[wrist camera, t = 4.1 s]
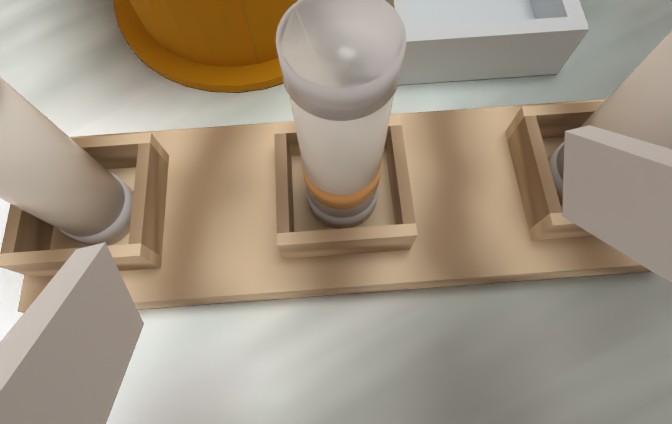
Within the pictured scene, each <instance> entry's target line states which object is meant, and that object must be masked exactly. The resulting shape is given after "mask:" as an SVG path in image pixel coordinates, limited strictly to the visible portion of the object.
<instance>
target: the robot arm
mask: <svg viewBox="0 0 672 424" xmlns="http://www.w3.org/2000/svg"><path fill="white" fill-rule="evenodd" d="M562 216H563V217H564V218H566V219H568V220H569V221H571V222H573V223H574V224H576V225H577V226H579V227H581V228H582V229H584V230H586V231H587V232H589V233H590V234H592V235H594V236H595V237H597V238H599V239H600V240H602V241H603V242H605V243H607V244H608V245H610V246H612V247H613V248H615V249H616V250H618V251H620V252H621V253H623V254H625V255H626V256H628V257H629V258H631V259H633V260H634V261H636V262H637V263H639V264H641V265H642V266H644V267H646V268H647V269H649V270H650V271H652V272H654V273H655V274H657V275H659V276H660V277H662V278H663V279H665V280H667V281H668V282H670V283H672V149H669V148H666V147H662V146H659V145H655V144H652V143H648V142H645V141H642V140H638V139H635V138H631V137H628V136H625V135H621V134H618V133H614V132H611V131H607V130H604V129H601V128H597V127H594V126H590V125H588V126H584V127H580V128H576V129H572V130H567V131H565V141H564V174H563V207H562ZM143 325H144V323H143V321H142V319H141V317H140V315H139V312H138V310H137V308H136V306H135V304H134V302H133V300H132V298H131V295H130V293H129V291H128V289H127V287H126V285H125V283H124V281H123V278H122V276H121V274H120V272H119V270H118V268H117V266H116V264H115V261H114V259H113V257H112V255H111V253H110V251H109V249H108V247H107V244H106V242H104V243H100V244H96V245H92V246H88V247H84V248H80V249H76V250H75V251H74V253H73V254H72V255H71V256H70V258H69V259H68V260H67V261H66V262H65V264H64V265H63V266H62V267H61V269H60V270H59V271H58V272H57V274H56V275H55V276H54V277H53V278H52V280H51V281H50V282H49V283H48V285H47V286H46V287H45V288H44V289H43V291H42V292H41V293H40V294H39V296H38V297H37V298H36V299H35V301H34V302H33V303H32V304H31V305H30V307H29V308H28V309H27V310H26V312H25V313H24V314H23V315H22V316H21V318H20V319H19V320H18V321H17V323H16V324H15V325H14V326H13V327H12V329H11V330H10V331H9V332H8V334H7V335H6V336H5V337H4V339H3V340H2V341H1V342H0V424H106V422H107V419H108V417H109V414H110V411H111V409H112V406H113V404H114V401H115V398H116V396H117V393H118V390H119V388H120V385H121V383H122V380H123V377H124V375H125V372H126V369H127V367H128V364H129V362H130V359H131V356H132V354H133V351H134V349H135V346H136V343H137V341H138V338H139V335H140V333H141V330H142V328H143Z"/></svg>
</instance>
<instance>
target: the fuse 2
mask: <svg viewBox="0 0 672 424" xmlns="http://www.w3.org/2000/svg"><path fill="white" fill-rule="evenodd" d="M588 125H590V126H594V127H597V128H601V129H604V130H607V131H611V132H614V133H618V134H621V135H625V136H628V137H631V138H635V139H638V140H642V141H645V142H648V143H652V144H655V145H659V146H662V147H666V148H669V149H672V31H671V32H670V33H669V34H668V35H667V36H666V37H665V38H664V39H663V40H662V41H661V42H660V43H659V44H658V45H657V46H656V48H655V49H654V50H653V51H652V52H651V53H650V54H649V55H648V56H647V57H646V58H645V59H644V60H643V61H642V62H641V63H640V64H639V65H638V67H637V68H636V69H635V70H634V71H633V72H632V73H631V74H630V75H629V76H628V77H627V78H626V79H625V80H624V81H623V82H622V83H621V84H620V85H619V87H618V88H617V89H616V90H615V91H614V92H613V93H612V94H611V95H610V96H609V97H608V98H607V99H606V100H605V101H604V102H603V103H602V104H601V106H600V107H599V108H598V109H597V110H596V111H595V112H594V113H593V114H592V115H591V116H590V117H589V118H588V119H587V120H586V121H585V122H584V123H583V124H582V126H581V127H584V126H588ZM548 162H549V166H550V169H551V173H552V176H553V180H554V184H555V187H556V191H557V195H558V198H559V202H560V204H561V205H562V206H563V174H564V142H563V143H562V144H561V145H560V146H559V147H558V148H557V149H556V150H555V151H554V152H553V153H552V154H551V156H550V157H549V158H548Z"/></svg>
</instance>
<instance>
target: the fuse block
mask: <svg viewBox="0 0 672 424" xmlns="http://www.w3.org/2000/svg"><path fill="white" fill-rule="evenodd" d="M605 100H606V99H602V100H587V101H573V102H559V103H545V104H531V105H517V106H502V107H488V108H474V109H460V110H446V111H432V112H418V113H403V114H390V118H389V124H388V129H387V135H386V141H385V146H384V152H383V163H382V169H381V175H380V180H379V191H378V197H377V202H376V206H375V209H374V211H373V213H372V214H371V215H370V217H369V218H368V219H367V220H366V221H365V222H363V223H362V224H360V225H358V226H356V227H353V228H343V229H335V228H331V227H329V226H326V225H324V224H323V223H321V222H320V221H319V220H318V219H317V218H316V217H315V216H314V215H313V213H312V212H311V210H310V207H309V204H308V199H307V195H306V188H305V185H306V184H305V180H304V175H303V170H302V163H301V154H300V148H299V143H298V138H297V133H296V128H295V123H294V121H290V122H276V123H262V124H248V125H234V126H219V127H205V128H191V129H177V130H163V131H149V132H134V133H120V134H106V135H92V136H78V137H70V138H71V139H72V140H73V141H74V142H75V143H77V144H78V145H79V146H80V147H81V148H82V149H83V150H85V151H86V152H87V153H88V154H89V155H90V156H92V157H93V158H94V159H95V160H96V161H97V162H98V163H100V164H101V165H102V166H103V167H104V168H105V169H106V170H108V171H109V172H111V173H113V174H114V175H116V176H117V177H119V178H120V179H121V180H122V181H123V182H124V183H125V184H127V185H128V186H129V187H130V188H131V189H132V190H133V191H134V194H133V203H132V213H131V223H130V233H129V234H128V235H127V236H125V237H124V238H123V239H121V240H120V241H118V242H116V243H114V244H111V245H108V246H107V247H108V249H109V251H110V253H111V255H112V257H113V259H114V261H115V264H116V266H117V268H118V270H119V272H120V274H121V276H122V278H123V281H124V283H125V285H126V287H127V289H128V291H129V293H130V295H131V298H132V300H133V302H134V304H135V306H136V308H137V310H138V309H151V308H165V307H178V306H192V305H205V304H218V303H232V302H245V301H259V300H272V299H285V298H299V297H312V296H326V295H339V294H352V293H366V292H379V291H393V290H406V289H419V288H433V287H446V286H460V285H473V284H486V283H500V282H513V281H527V280H540V279H553V278H567V277H580V276H594V275H607V274H620V273H634V272H647V271H650V270H649V269H647V268H646V267H644V266H642V265H641V264H639V263H637V262H636V261H634V260H633V259H631V258H629V257H628V256H626V255H625V254H623V253H621V252H620V251H618V250H616V249H615V248H613V247H612V246H610V245H608V244H607V243H605V242H603V241H602V240H600V239H599V238H597V237H595V236H594V235H592V234H590V233H589V232H587V231H586V230H584V229H582V228H581V227H579V226H577V225H576V224H574V223H573V222H571V221H569V220H568V219H566V218H564V217H563V216H562V207H563V206H562V205H561V204H560V202H559V198H558V195H557V191H556V187H555V184H554V180H553V176H552V173H551V169H550V166H549V162H548V158H549V157H550V156H551V154H552V153H553V152H554V151H555V150H556V149H557V148H558V147H559V146H560V145H561V144H562V143H563V142H564V141H565V131H567V130H572V129H576V128H580V127H581V126H582V124H583V123H584V122H585V121H586V120H587V119H588V118H589V117H590V116H591V115H592V114H593V113H594V112H595V111H596V110H597V109H598V108H599V107H600V106H601V104H602V103H603V102H604V101H605ZM84 247H88V245H85V244H83V243H81V242H79V241H77V240H75V239H73V238H71V237H69V236H67V235H66V234H64V233H63V232H61V231H60V230H59V229H58V228H57V227H55V226H53V225H51V224H49V223H47V222H45V221H43V220H41V219H39V218H37V217H35V216H33V215H32V214H30V213H28V212H26V211H24V210H22V209H20V208H18V207H16V206H14V205H12V204H11V205H10V210H9V214H8V219H7V224H6V229H5V234H4V238H3V243H2V248H1V253H0V267H2V268H5V269H8V270H12V271H15V272H18V273H21V274H24V280H23V286H22V291H21V297H20V302H19V307H18V312H23V313H25V312H26V310H27V309H28V308H29V307H30V305H31V304H32V303H33V302H34V301H35V299H36V298H37V297H38V296H39V294H40V293H41V292H42V291H43V289H44V288H45V287H46V286H47V285H48V283H49V282H50V281H51V280H52V278H53V277H54V276H55V275H56V274H57V272H58V271H59V270H60V269H61V267H62V266H63V265H64V264H65V262H66V261H67V260H68V259H69V258H70V256H71V255H72V254H73V253H74V251H75V250H76V249H80V248H84Z"/></svg>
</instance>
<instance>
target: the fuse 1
mask: <svg viewBox="0 0 672 424" xmlns="http://www.w3.org/2000/svg"><path fill="white" fill-rule="evenodd" d="M133 194H134V191H133V190H132V189H131V188H130V187H129V186H128V185H127V184H125V183H124V182H123V181H122V180H121V179H120V178H119V177H117V176H116V175H114V174H113V173H111V172H109V171H108V170H106V169H105V168H104V167H103V166H102V165H101V164H100V163H98V162H97V161H96V160H95V159H94V158H93V157H92V156H90V155H89V154H88V153H87V152H86V151H85V150H83V149H82V148H81V147H80V146H79V145H78V144H77V143H75V142H74V141H73V140H72V139H71V138H70V137H69V136H67V135H66V134H65V133H64V132H63V131H62V130H61V129H59V128H58V127H57V126H56V125H55V124H54V123H53V122H51V121H50V120H49V119H48V118H47V117H46V116H45V115H43V114H42V113H41V112H40V111H39V110H38V109H36V108H35V107H34V106H33V105H32V104H31V103H30V102H28V101H27V100H26V99H25V98H24V97H23V96H22V95H20V94H19V93H18V92H17V91H16V90H15V89H14V88H12V87H11V86H10V85H9V84H8V83H7V82H6V81H4V80H3V79H2V78H1V77H0V198H1V199H3V200H5V201H6V202H8V203H10V204H12V205H14V206H16V207H18V208H20V209H22V210H24V211H26V212H28V213H30V214H32V215H33V216H35V217H37V218H39V219H41V220H43V221H45V222H47V223H49V224H51V225H53V226H55V227H57V228H58V229H59V230H60V231H61V232H63V233H64V234H66V235H67V236H69V237H71V238H73V239H75V240H77V241H79V242H81V243H83V244H85V245H88V246H92V245H96V244H100V243H104V242H106V244H107V246H108V245H111V244H114V243H116V242H118V241H120V240H121V239H123V238H124V237H125V236H127V235H128V234H129V233H130V223H131V213H132V203H133Z"/></svg>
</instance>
